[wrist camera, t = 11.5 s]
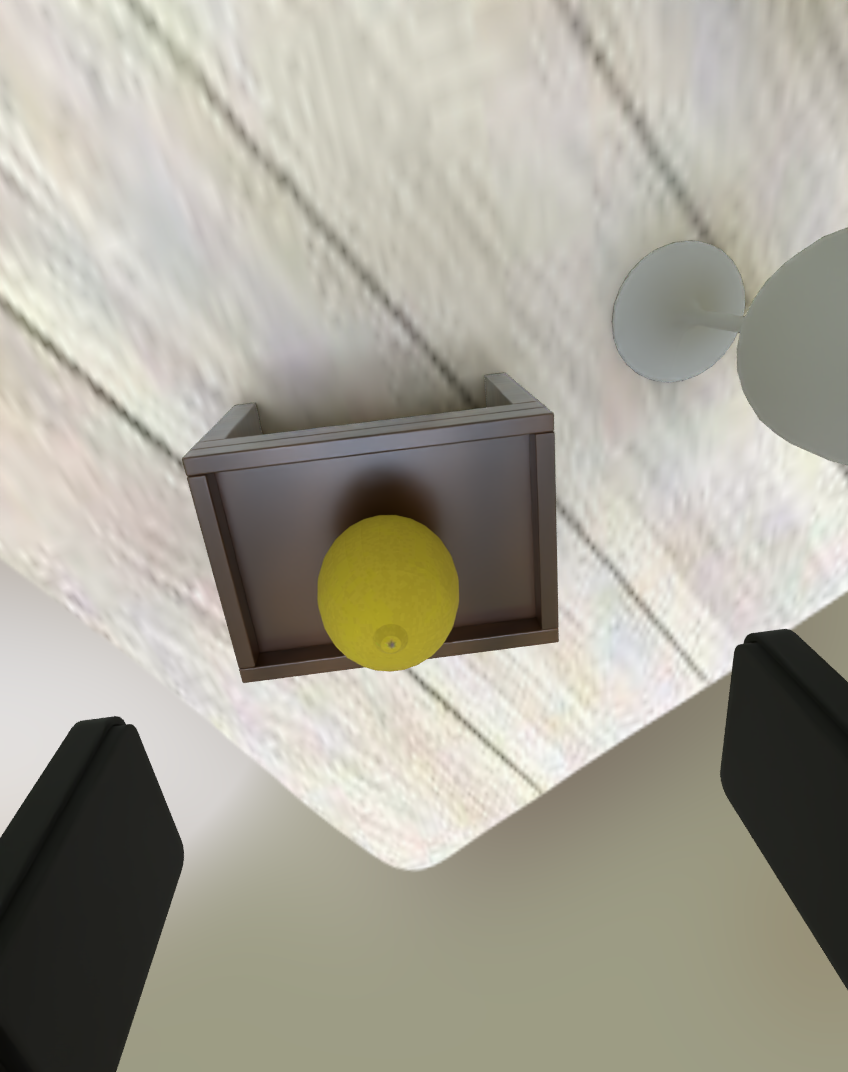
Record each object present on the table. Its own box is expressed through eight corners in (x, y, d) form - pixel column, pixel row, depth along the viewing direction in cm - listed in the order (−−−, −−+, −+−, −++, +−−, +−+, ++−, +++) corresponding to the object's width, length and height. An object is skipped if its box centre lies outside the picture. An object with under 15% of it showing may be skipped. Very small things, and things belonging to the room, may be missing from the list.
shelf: (505, 372, 34) (554, 412, 25) (515, 551, 39) (559, 642, 30) (234, 405, 34) (180, 458, 25) (274, 582, 38) (242, 683, 29)
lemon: (453, 591, 29) (478, 700, 22) (336, 607, 29) (323, 721, 22) (441, 481, 27) (465, 560, 20) (314, 497, 27) (292, 583, 20)
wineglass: (760, 238, 33) (1316, 198, 13) (729, 385, 36) (1145, 527, 16) (619, 234, 32) (987, 187, 13) (599, 384, 35) (873, 530, 16)
